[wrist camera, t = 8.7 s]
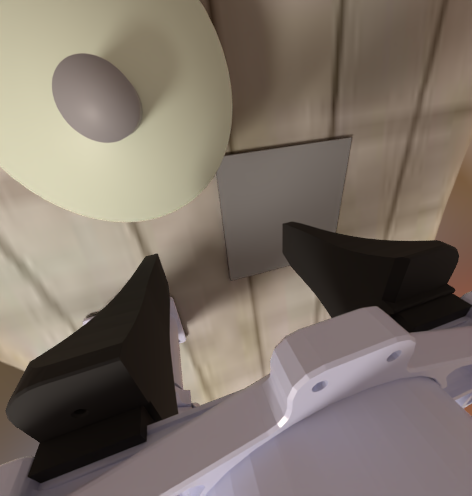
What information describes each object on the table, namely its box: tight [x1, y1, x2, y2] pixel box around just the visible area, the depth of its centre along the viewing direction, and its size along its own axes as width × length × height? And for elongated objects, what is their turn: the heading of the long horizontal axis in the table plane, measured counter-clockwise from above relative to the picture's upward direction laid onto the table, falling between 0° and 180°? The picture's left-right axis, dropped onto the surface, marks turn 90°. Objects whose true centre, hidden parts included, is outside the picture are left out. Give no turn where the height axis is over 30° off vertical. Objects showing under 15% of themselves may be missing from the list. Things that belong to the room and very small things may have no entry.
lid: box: [0, 0, 233, 222], centre depth 11 cm, size 13×13×4 cm
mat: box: [216, 137, 352, 281], centre depth 25 cm, size 14×14×1 cm
